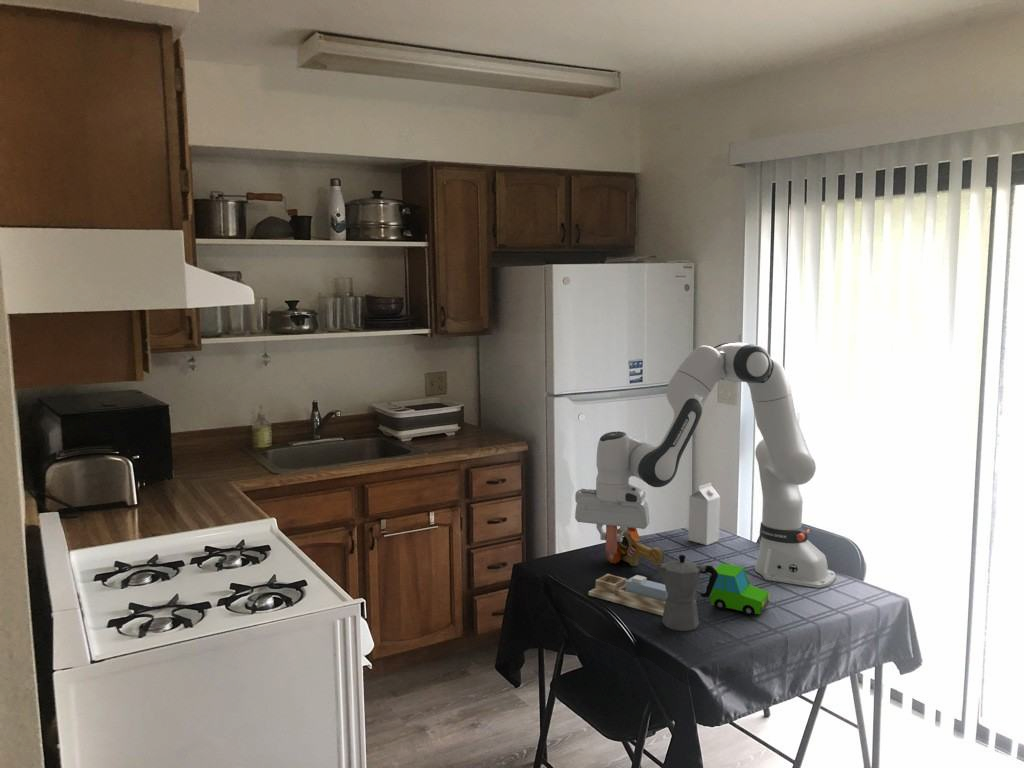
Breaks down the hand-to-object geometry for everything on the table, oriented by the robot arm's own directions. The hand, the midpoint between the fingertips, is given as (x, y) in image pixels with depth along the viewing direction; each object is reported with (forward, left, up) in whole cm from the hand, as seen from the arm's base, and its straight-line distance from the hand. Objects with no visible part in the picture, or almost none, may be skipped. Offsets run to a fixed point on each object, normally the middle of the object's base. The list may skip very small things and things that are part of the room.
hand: (611, 540), depth 232 cm
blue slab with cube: (-12, 0, -14) cm, 18 cm away
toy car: (-33, -11, -15) cm, 38 cm away
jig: (-8, 0, -15) cm, 17 cm away
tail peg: (0, 0, -3) cm, 3 cm away
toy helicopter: (+5, -22, -15) cm, 27 cm away
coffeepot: (-26, +7, -15) cm, 31 cm away
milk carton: (-1, -56, -15) cm, 58 cm away
